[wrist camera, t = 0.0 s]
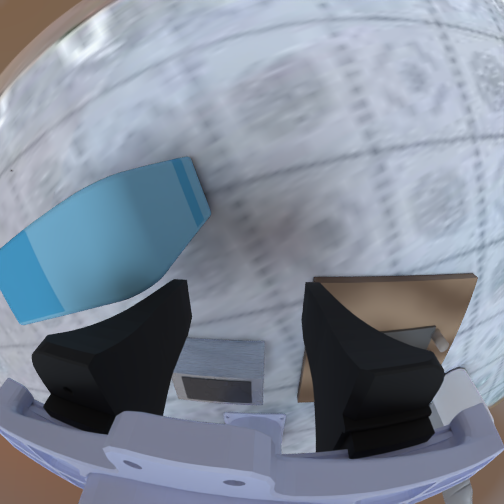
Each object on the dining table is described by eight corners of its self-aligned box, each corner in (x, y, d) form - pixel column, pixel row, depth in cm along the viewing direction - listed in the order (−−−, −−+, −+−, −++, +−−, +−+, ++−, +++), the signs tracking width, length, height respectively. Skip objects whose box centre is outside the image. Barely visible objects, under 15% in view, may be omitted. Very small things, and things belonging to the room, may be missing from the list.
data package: (195, 154, 19) (99, 177, 8) (216, 210, 20) (153, 295, 9) (80, 209, 21) (-20, 265, 10) (100, 253, 23) (14, 328, 12)
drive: (263, 367, 27) (262, 405, 22) (189, 363, 27) (178, 399, 23) (264, 340, 25) (263, 379, 21) (183, 336, 26) (169, 373, 21)
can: (435, 375, 27) (468, 443, 16) (470, 360, 27) (505, 420, 16) (425, 401, 30) (449, 463, 19) (458, 388, 29) (485, 444, 18)
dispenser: (434, 424, 33) (464, 517, 13) (414, 432, 34) (441, 529, 14) (445, 394, 30) (489, 505, 9) (423, 404, 30) (462, 521, 10)
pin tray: (427, 379, 28) (436, 398, 25) (297, 396, 29) (299, 419, 25) (472, 273, 21) (491, 289, 18) (313, 277, 22) (320, 300, 19)
